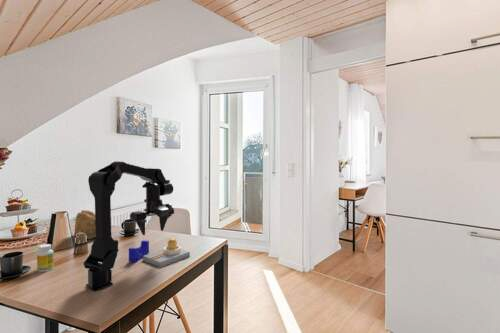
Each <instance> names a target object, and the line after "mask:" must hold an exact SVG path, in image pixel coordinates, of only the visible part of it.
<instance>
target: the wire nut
mask: <svg viewBox="0 0 500 333" xmlns="http://www.w3.org/2000/svg"><path fill="white" fill-rule="evenodd" d="M177 242H178V240H177V239H176V238H169V239H168V241H167V246H168V250H175V249H177V245H178V244H177Z"/></svg>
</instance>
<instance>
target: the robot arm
mask: <svg viewBox="0 0 500 333" xmlns="http://www.w3.org/2000/svg"><path fill="white" fill-rule="evenodd" d="M123 174H125V175H131V176H135V177H138V178H140V179H141V180H143V181H145V183H144V184H143V185H141V186H142V187H141V188H145V199H144V203H145V208H144V210H143V211H140V210H137V211H132V212H131V213H130V215H129V219H130V220H132V221H133V222H135V224H136V225H137V227H138V228H139V231H140V232H141V234H142V236H145V235H146V223H147V217H153V216H157V217H158V219H159V227H160V231H161V232H164V230H165V226H166V224H167V221H168V219H169V218H170V217H172V215H174V214H175V209H174V207H173V206H172V205H173V204H172V203H163V199H161V197H162V196H167V195H171V194H172V193H173V191H174V186H173V184H172V183H171V180H170V179H166V177H165V176H164V174H163V172H162V169H161V168H152V167H151V168H150V167H148V168H147V167H143V166H139V165H135V164H131V163H127V162H125V161H117V160H116V161H113V162H111V163H110V164H109V165H106V166H104V167H103V168H100V169H98V170H97V171H94V172H92V173H91V174H90V175H89V177H88V180H87V181H88V186H89V190H90V192H91V194H92V195H93V197H94V214H95V225H96V237H95V239H94V241H93V243H92V244H91V247H90V248H91V249H90V253H89V255H88V256H87V257H86V259H85V261H84V262H83V267H84V269H87V284H85V287H87V288H89V289H90V290H91V291H93V292H96V291H99V290H101V289H104V288H106V287H107V288H108V287H109V286H112V285H113V283H114V282H112V281H113V280H112V278H113V277H112V273H113V272H112V269H114V266H115V263H116V259H117V257H118V252H119V251H120V250H119V240H117V239H114V238H113V237H112V212H111V211H112V202H111V197H112V195H113V193H114V192H115V190H116V183H117V182H118V181H119V180H120V179H122V176H123Z"/></svg>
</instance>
